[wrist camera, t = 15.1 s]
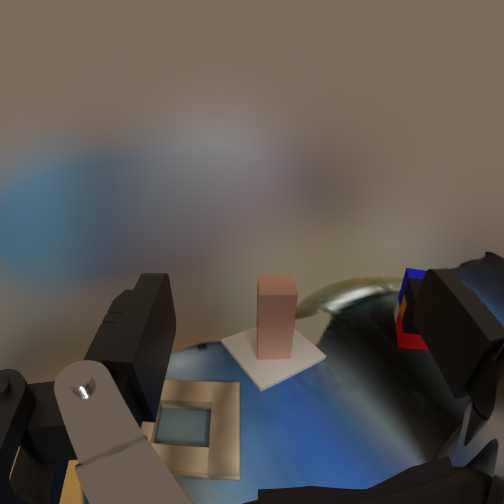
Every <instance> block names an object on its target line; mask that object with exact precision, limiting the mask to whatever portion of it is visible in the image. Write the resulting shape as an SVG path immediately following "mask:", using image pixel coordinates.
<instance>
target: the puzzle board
mask: <svg viewBox="0 0 504 504" xmlns="http://www.w3.org/2000/svg"><path fill="white" fill-rule="evenodd" d="M162 408H174V409H190V410H211V424H210V438H209V447H190V446H176V445H165V444H156V443H155V442H156V437H157V432H158V426H159V421H160V416H161V411H162ZM141 431H142V432H143V434H144V435H145V436H146V437H147V438H148V440H149V441H150V443H151V444H152V446H153V447H154V449H155V450H156V452H157V453H158V455H159V456H160V458H161V459H162V461H163V462H164V464H165V465H166V467H167V468H168V470H169V471H170V472H171V474H172V475H173V476H174V477H185V478H199V479H221V480H240V382H197V381H176V380H165V381H164V385H163V390H162V394H161V399H160V404H159V408H158V413H157V418H156V423H152V422H142V426H141Z"/></svg>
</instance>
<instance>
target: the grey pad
mask: <svg viewBox="0 0 504 504" xmlns="http://www.w3.org/2000/svg"><path fill="white" fill-rule="evenodd" d="M256 337H257V326H255V327H253V328H250V329H248V330H245V331H242V332H239V333H237V334H234V335H232V336H229V337H226V338H223V339H221V343H222V344H223V345H224V347H225V348H226V349H227V351H228V352H229V353H230V354H231V356H232V357H233V358H234V359H235V361H236V362H237V363H238V364H239V366H240V367H241V368H242V369H243V371H244V372H245V373H246V374H247V376H248V377H249V378H250V379H251V380H252V382H253V383H254V384H255V385H256V387H257V388H258V389H259V390H260V391H263V390H265V389H267V388H269V387H271V386H273V385H275V384H277V383H279V382H281V381H283V380H285V379H287V378H289V377H291V376H293V375H295V374H297V373H299V372H301V371H303V370H305V369H307V368H309V367H311V366H313V365H314V364H316V363H318V362H320V361H322V360H324V359H326V355H325V354H324V353H322V352H321V351H320V350H319V349H318V348H317V347H316V346H315V345H313V344H312V343H311V342H310V341H309V340H308V339H307V338H306V337H304V336H303V335H302V334H301V333H300V332H299V331H298V330H297V329H295V328H294V334H293V343H292V351H291V359H273V360H258V359H257V338H256Z"/></svg>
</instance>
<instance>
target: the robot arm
mask: <svg viewBox="0 0 504 504" xmlns="http://www.w3.org/2000/svg"><path fill="white" fill-rule="evenodd" d="M413 320H414V324H415V327H416V329H417V330H418V332H419V334H420V335H421V337H422V339H423V341H424V342H425V344H426V346H427V348H428V349H429V351H430V353H431V355H432V356H433V358H434V360H435V362H436V364H437V366H438V367H439V369H440V371H441V373H442V375H443V377H444V379H445V380H446V382H447V384H448V386H449V388H450V390H451V392H452V394H453V396H454V398H455V399H458V398H462V397H465V396H470V397H471V400H470V401H469V403H468V404H467V407H466V411H465V416H464V420H463V422H462V423H461V424H460V426H459V427H458V428H457V429H456V431H455V432H454V433H453V434H452V435H451V437H450V438H449V439H448V440H447V441H446V443H445V444H444V445H443V446H442V447H441V448H440V450H439V451H438V453H437V455H436V457H435V460H434V461H431V462H427V463H424V464H421V465H417V466H414V467H410V468H408V469H406V470H405V471H403V472H401V473H399V474H397V475H395V476H393V477H391V478H389V479H387V480H385V481H383V482H381V483H379V484H377V485H375V486H373V487H371V488H368V489H361V490H360V489H341V488H328V487H317V486H306V487H295V488H280V489H258V500H255V501H251V502H247V503H243V504H504V327H503V326H502V325H501V324H500V322H499V321H498V320H497V319H496V317H495V316H494V315H493V314H492V313H491V311H490V310H488V308H487V307H486V305H485V304H484V303H483V302H481V300H480V298H479V297H478V296H477V295H476V294H475V293H474V292H473V290H471V289H470V288H468V287H467V286H465V285H464V284H463V283H462V282H461V281H460V280H459V279H458V277H457V276H456V275H455V274H454V273H453V272H452V271H451V270H450V269H447V268H446V269H429V270H427V271H426V272H425V274H424V277H423V281H422V284H421V287H420V291H419V294H418V297H417V300H416V304H415V307H414V311H413ZM175 332H176V316H175V310H174V304H173V299H172V293H171V287H170V280H169V276H168V274H167V273H142V274H141V276H140V278H139V280H138V282H137V284H136V286H135V288H134V290H125V291H123V292H122V293H121V294H120V295H119V296H118V297H116V298H115V299H114V300H113V302H112V304H111V306H110V308H109V310H108V314H106V315H105V317H104V319H103V321H102V324H101V325H100V327H99V329H98V331H97V333H96V335H95V338H94V339H93V341H92V343H91V345H90V347H89V349H88V352H87V353H86V356H85V358H84V360H83V361H78V362H75V363H73V364H71V365H69V366H67V367H66V368H64V369H63V370H62V371H61V372H60V373H59V375H58V376H57V378H56V380H55V381H52V382H44V383H34V384H27V382H26V381H25V379H24V377H23V376H22V375H21V373H19V372H18V371H16V370H13V369H5V370H1V371H0V504H59V502H60V497H61V492H62V488H63V483H64V479H65V475H66V470H67V466H68V462H69V460H78V462H79V464H77V465H76V466H75V470H76V473H77V477H78V479H79V482H80V484H81V486H82V489H83V491H84V493H85V495H86V497H87V499H88V501H89V503H90V504H194V503H193V502H192V501H191V500H190V498H189V497H188V496H187V494H186V493H185V492H184V490H183V489H182V488H181V486H180V485H179V484H178V482H177V481H176V479H175V478H174V477H173V475H172V474H171V472H170V471H169V470H168V468H167V467H166V465H165V464H164V462H163V461H162V459H161V458H160V456H159V455H158V453H157V452H156V450H155V449H154V447H153V446H152V444H151V443H150V441H149V440H148V438H147V437H146V436H145V435H144V434H143V432H142V431H141V426H142V422H152V423H156V418H157V413H158V408H159V404H160V399H161V394H162V390H163V385H164V381H165V376H166V372H167V367H168V363H169V359H170V355H171V350H172V346H173V342H174V338H175ZM19 446H20V450H19V453H18V456H17V459H16V462H15V465H14V468H13V471H12V475H11V478H10V481H9V476H10V472H11V468H12V465H13V462H14V459H15V456H16V453H17V450H18V447H19Z"/></svg>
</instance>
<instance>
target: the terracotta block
mask: <svg viewBox="0 0 504 504" xmlns="http://www.w3.org/2000/svg"><path fill="white" fill-rule="evenodd" d="M257 287H258V288H257V337H256V338H257V359H258V360H273V359H291V351H292V343H293V334H294V325H295V316H296V307H297V297H298V294H297V289H296V286H295V281H294V277H293V275H258V286H257Z"/></svg>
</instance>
